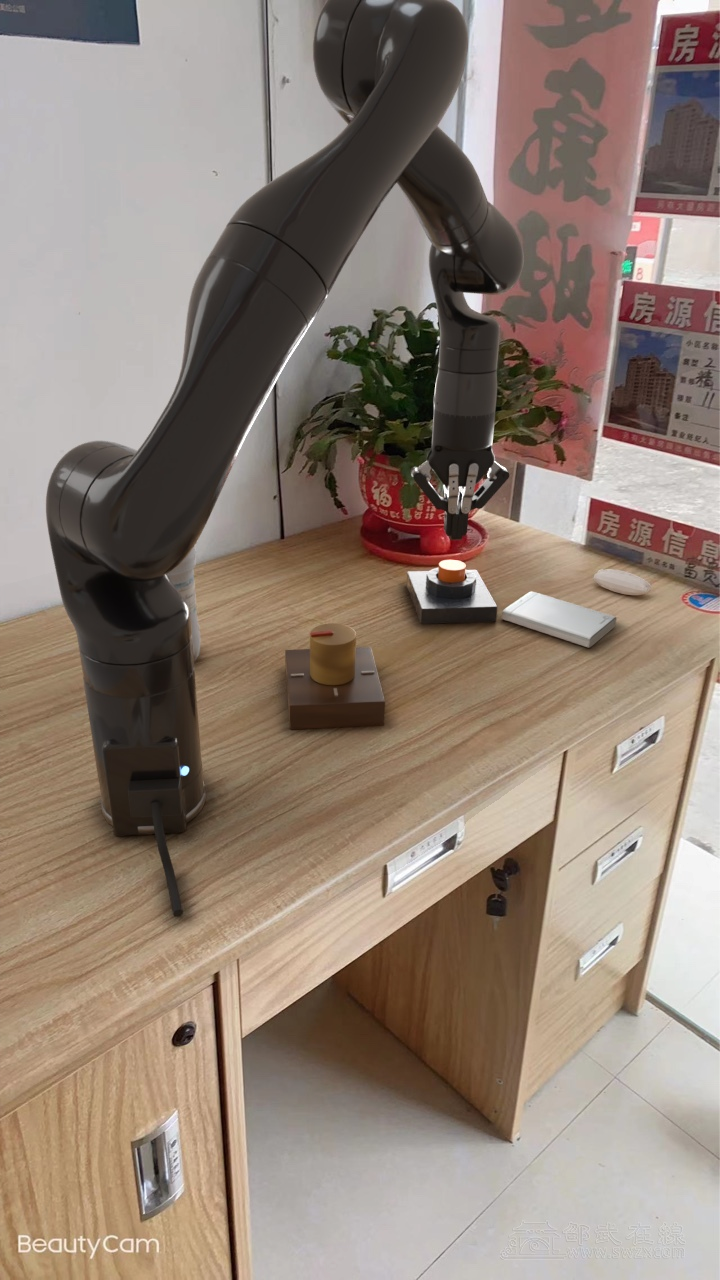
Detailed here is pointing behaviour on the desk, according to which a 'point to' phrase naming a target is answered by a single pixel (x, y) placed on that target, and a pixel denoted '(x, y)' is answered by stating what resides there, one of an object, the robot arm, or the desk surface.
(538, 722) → the desk surface
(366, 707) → the dial panel
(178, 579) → the bottle
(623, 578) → the white oval capsule
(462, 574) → the orange push button
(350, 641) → the dial
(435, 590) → the push button base
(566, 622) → the hard drive
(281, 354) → the robot arm
